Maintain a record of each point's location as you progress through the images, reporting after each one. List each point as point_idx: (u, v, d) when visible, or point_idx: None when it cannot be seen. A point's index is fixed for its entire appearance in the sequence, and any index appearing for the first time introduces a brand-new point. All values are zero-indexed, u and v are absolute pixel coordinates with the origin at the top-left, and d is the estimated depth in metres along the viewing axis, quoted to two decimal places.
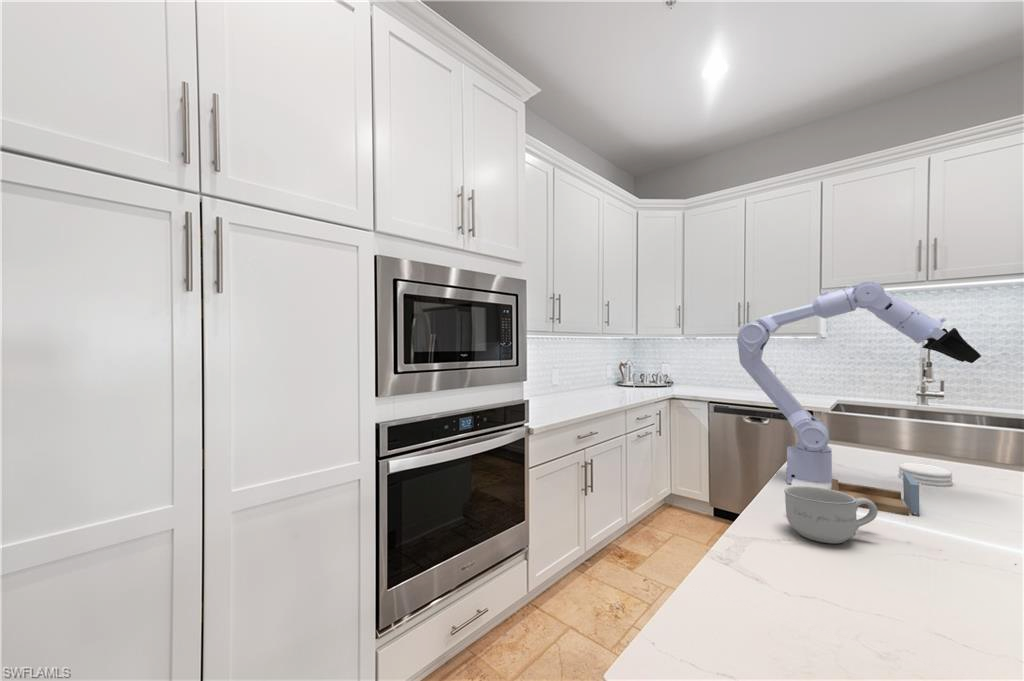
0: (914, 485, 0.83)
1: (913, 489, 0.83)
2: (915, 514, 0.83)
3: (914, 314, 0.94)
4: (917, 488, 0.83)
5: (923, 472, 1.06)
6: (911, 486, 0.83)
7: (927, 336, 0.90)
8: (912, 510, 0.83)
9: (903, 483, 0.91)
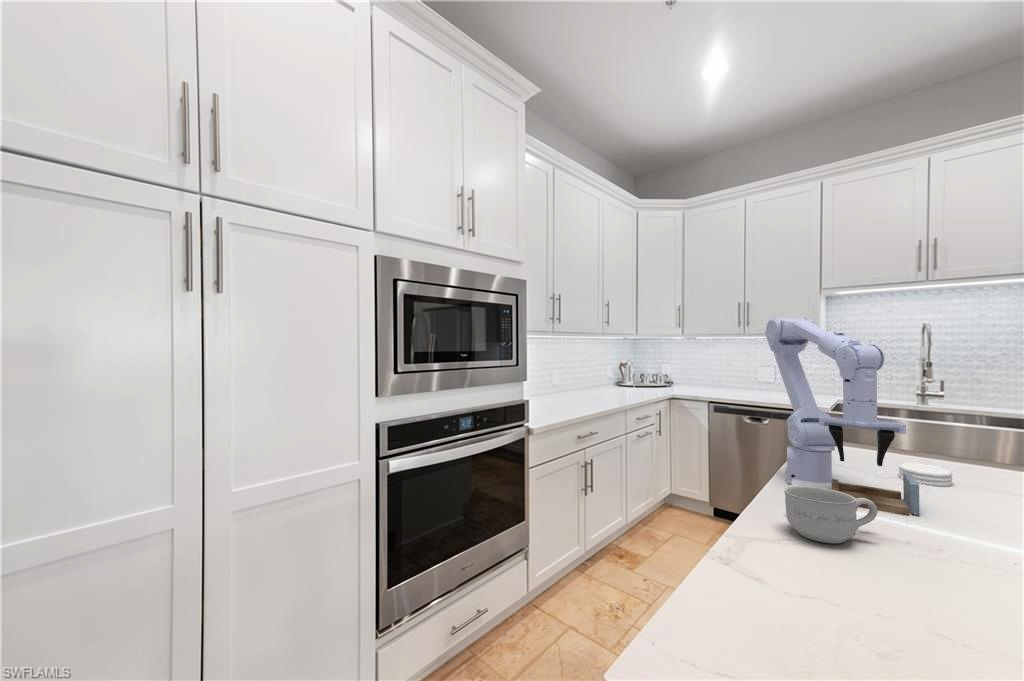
0: (914, 485, 0.83)
1: (913, 489, 0.83)
2: (915, 514, 0.83)
3: (845, 401, 0.92)
4: (917, 488, 0.83)
5: (923, 472, 1.06)
6: (911, 486, 0.83)
7: None
8: (912, 510, 0.83)
9: (903, 483, 0.91)
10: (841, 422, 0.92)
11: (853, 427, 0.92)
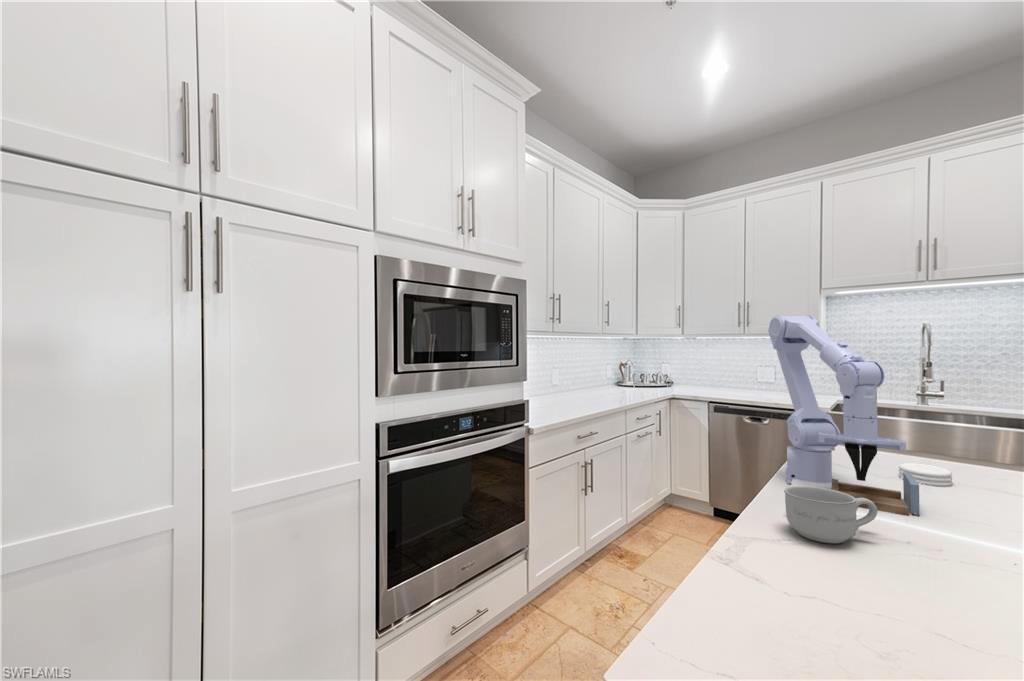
0: (914, 485, 0.83)
1: (913, 489, 0.83)
2: (915, 514, 0.83)
3: (845, 417, 0.92)
4: (917, 488, 0.83)
5: (923, 472, 1.06)
6: (911, 486, 0.83)
7: None
8: (912, 510, 0.83)
9: (903, 483, 0.91)
10: (841, 439, 0.92)
11: (853, 444, 0.92)
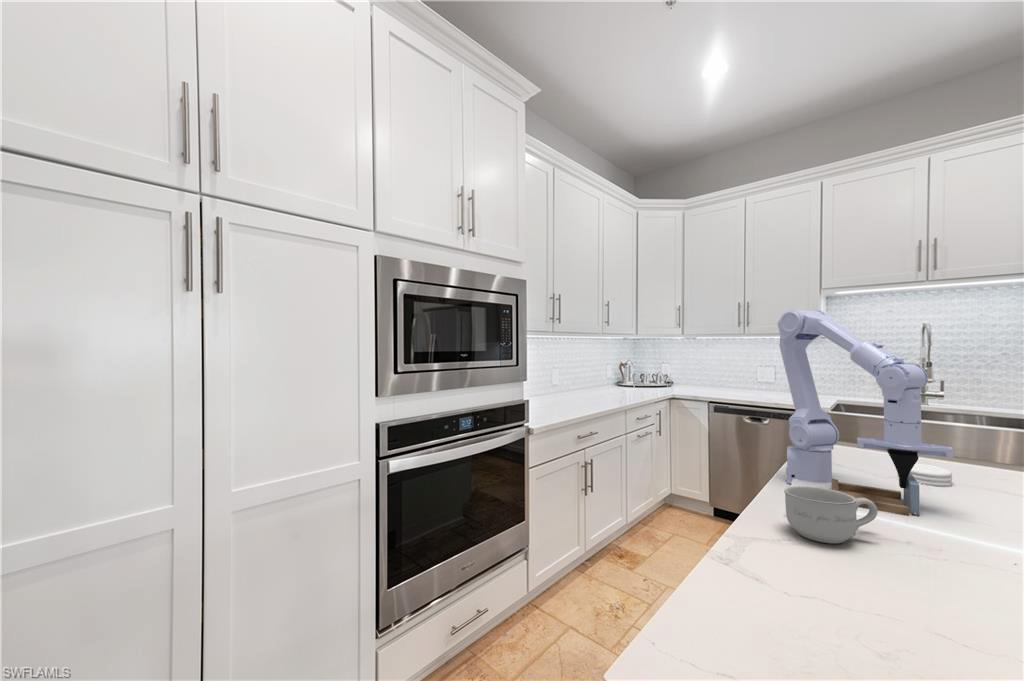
0: (914, 485, 0.83)
1: (913, 489, 0.83)
2: (915, 514, 0.83)
3: (886, 422, 0.88)
4: (917, 488, 0.83)
5: (923, 472, 1.06)
6: (911, 486, 0.83)
7: None
8: (912, 510, 0.83)
9: None
10: (882, 444, 0.88)
11: (895, 450, 0.88)
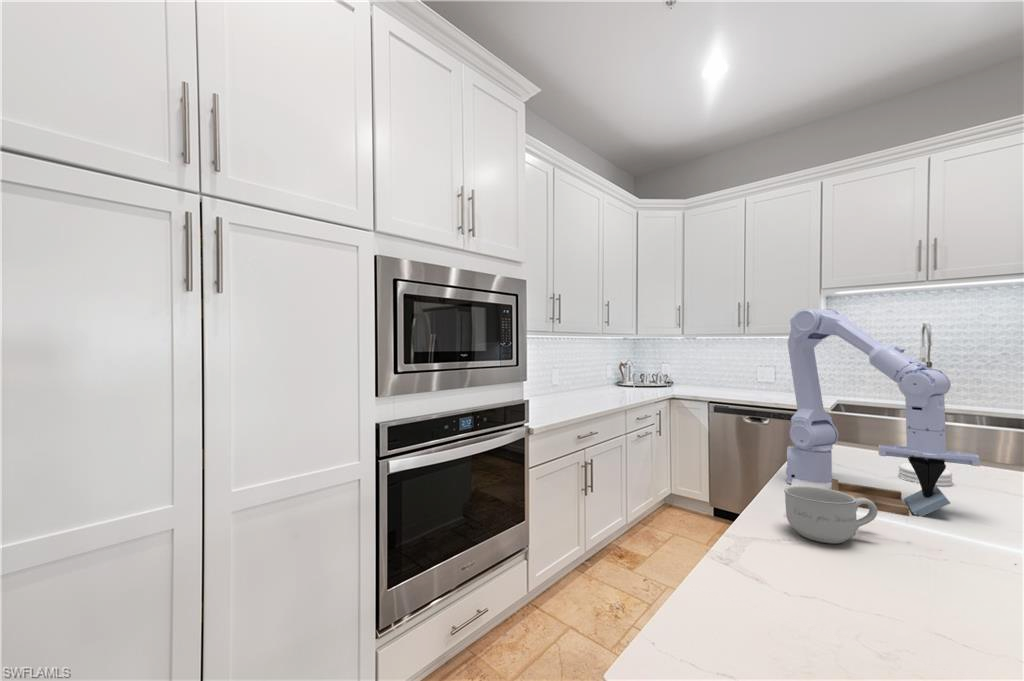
0: (946, 500, 0.81)
1: (941, 501, 0.81)
2: (916, 515, 0.83)
3: (909, 429, 0.86)
4: (945, 503, 0.81)
5: None
6: (942, 499, 0.81)
7: None
8: (918, 511, 0.83)
9: None
10: (905, 452, 0.86)
11: (918, 458, 0.86)
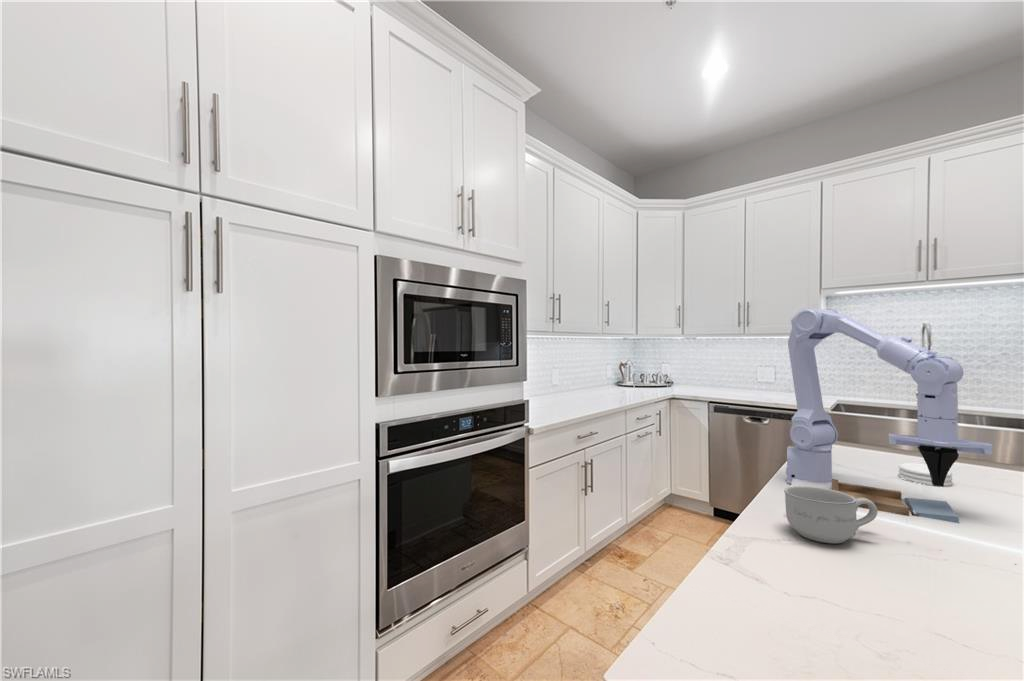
0: (957, 519, 0.80)
1: (951, 518, 0.80)
2: (917, 516, 0.83)
3: (921, 418, 0.85)
4: (954, 521, 0.80)
5: (923, 472, 1.06)
6: (954, 516, 0.80)
7: None
8: (921, 514, 0.83)
9: None
10: (916, 441, 0.85)
11: (929, 446, 0.85)
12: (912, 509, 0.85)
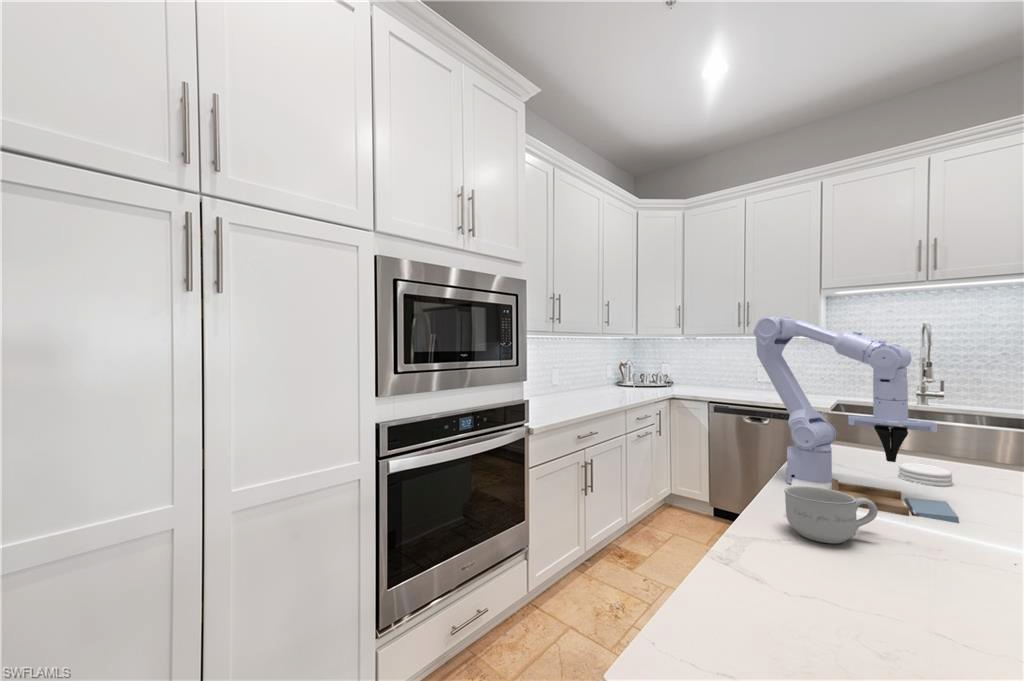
0: (957, 519, 0.80)
1: (951, 518, 0.80)
2: (917, 516, 0.83)
3: (875, 400, 0.94)
4: (954, 521, 0.80)
5: (923, 472, 1.06)
6: (954, 517, 0.80)
7: None
8: (921, 514, 0.83)
9: (930, 500, 0.89)
10: (872, 421, 0.94)
11: (883, 426, 0.94)
12: (912, 509, 0.85)
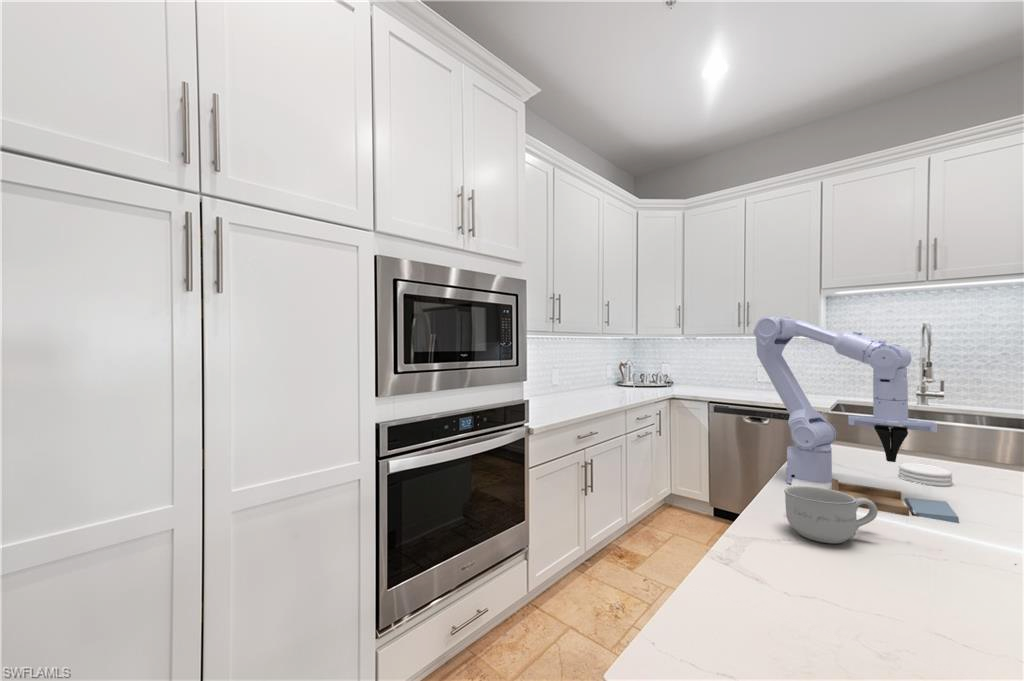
0: (957, 519, 0.80)
1: (951, 518, 0.80)
2: (917, 516, 0.83)
3: (875, 400, 0.94)
4: (954, 521, 0.80)
5: (923, 472, 1.06)
6: (954, 517, 0.80)
7: None
8: (921, 514, 0.83)
9: (930, 500, 0.89)
10: (872, 421, 0.94)
11: (883, 426, 0.94)
12: (912, 509, 0.85)
